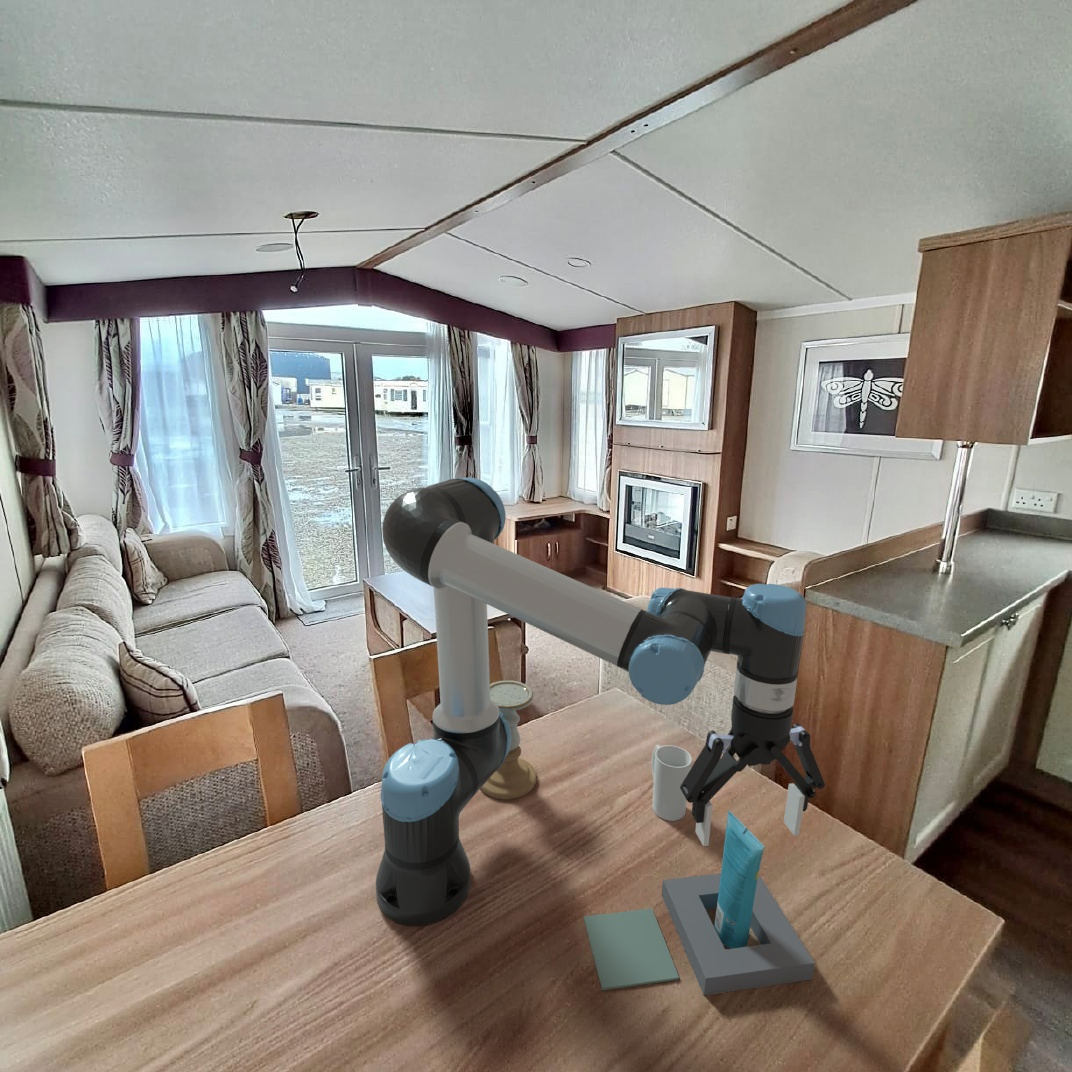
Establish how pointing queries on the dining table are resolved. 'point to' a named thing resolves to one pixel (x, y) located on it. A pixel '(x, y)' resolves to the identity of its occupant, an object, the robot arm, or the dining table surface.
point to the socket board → (735, 967)
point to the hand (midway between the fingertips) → (747, 833)
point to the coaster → (629, 949)
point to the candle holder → (514, 771)
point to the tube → (737, 883)
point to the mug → (669, 781)
